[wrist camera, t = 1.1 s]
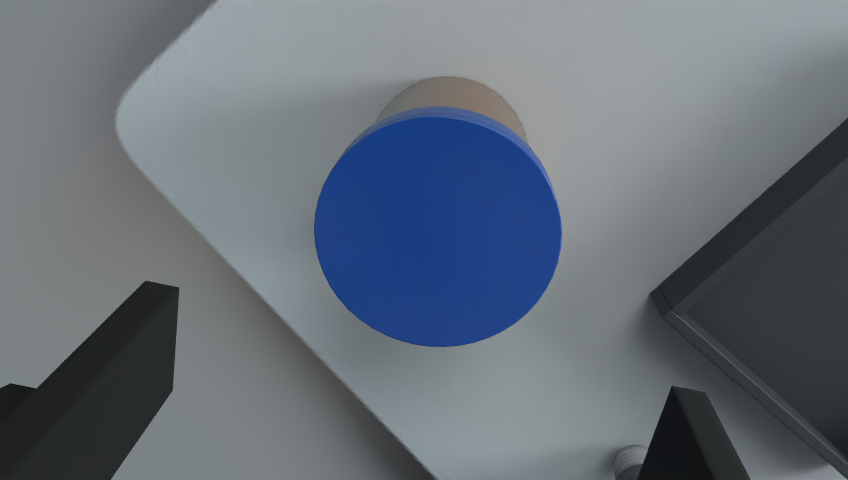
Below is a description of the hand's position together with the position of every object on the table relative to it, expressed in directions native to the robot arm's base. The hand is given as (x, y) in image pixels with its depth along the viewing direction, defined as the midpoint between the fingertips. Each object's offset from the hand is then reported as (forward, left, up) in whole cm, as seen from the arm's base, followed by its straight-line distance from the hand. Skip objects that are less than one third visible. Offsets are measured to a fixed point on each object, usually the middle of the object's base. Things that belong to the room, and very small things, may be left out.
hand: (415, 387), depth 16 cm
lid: (0, 0, -10) cm, 10 cm away
